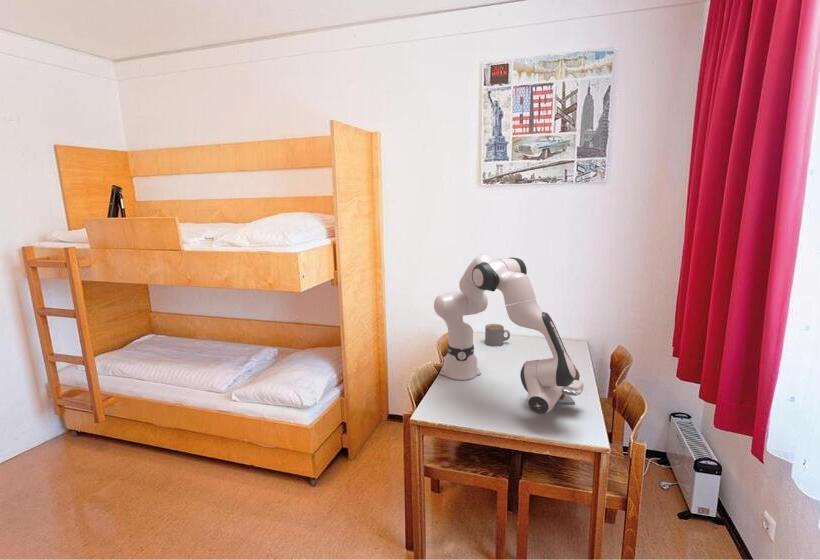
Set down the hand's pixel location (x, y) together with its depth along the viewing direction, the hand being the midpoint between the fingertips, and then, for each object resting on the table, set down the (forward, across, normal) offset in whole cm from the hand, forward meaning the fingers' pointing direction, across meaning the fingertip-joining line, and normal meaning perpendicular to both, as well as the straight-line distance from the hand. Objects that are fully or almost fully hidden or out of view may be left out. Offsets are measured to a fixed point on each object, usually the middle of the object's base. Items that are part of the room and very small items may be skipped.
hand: (559, 375), depth 172 cm
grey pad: (-1, 0, +10) cm, 10 cm away
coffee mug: (+50, +46, +10) cm, 68 cm away
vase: (+16, -1, +10) cm, 19 cm away
